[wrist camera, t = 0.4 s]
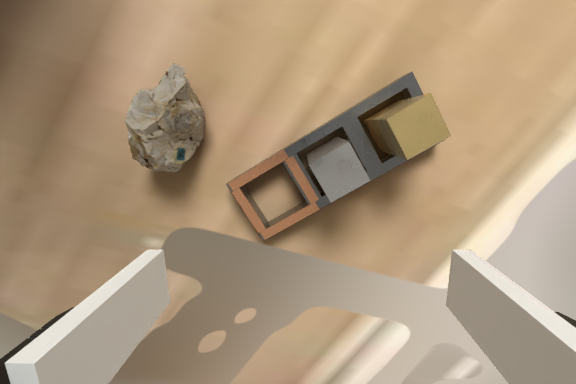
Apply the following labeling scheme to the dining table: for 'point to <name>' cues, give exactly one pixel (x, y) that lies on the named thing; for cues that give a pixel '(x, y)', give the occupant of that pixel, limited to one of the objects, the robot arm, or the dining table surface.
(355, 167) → the grey square-ended block
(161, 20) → the dining table surface
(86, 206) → the dining table surface
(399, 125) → the tan rectangular block
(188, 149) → the rock
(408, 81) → the grey block rack
